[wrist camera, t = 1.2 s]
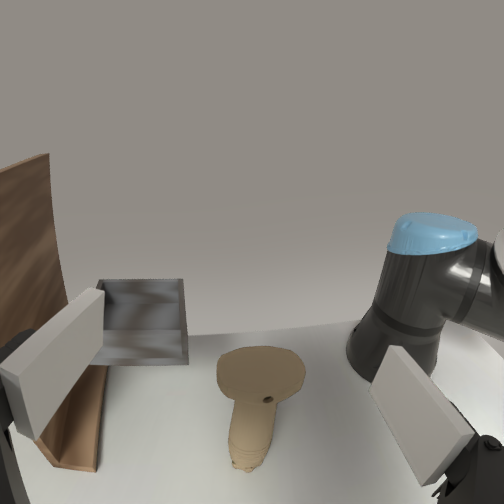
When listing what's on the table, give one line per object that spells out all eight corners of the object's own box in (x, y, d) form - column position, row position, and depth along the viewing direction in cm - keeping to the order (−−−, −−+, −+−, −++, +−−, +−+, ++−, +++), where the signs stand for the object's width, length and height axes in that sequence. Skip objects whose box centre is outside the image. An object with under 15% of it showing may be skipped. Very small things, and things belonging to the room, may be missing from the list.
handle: (212, 446, 29) (213, 348, 23) (269, 440, 30) (293, 343, 24) (218, 483, 25) (221, 396, 19) (280, 475, 26) (314, 386, 20)
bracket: (185, 359, 42) (185, 147, 30) (200, 473, 26) (194, 185, 14) (76, 358, 38) (40, 154, 26) (53, 466, 22) (-66, 201, 10)
